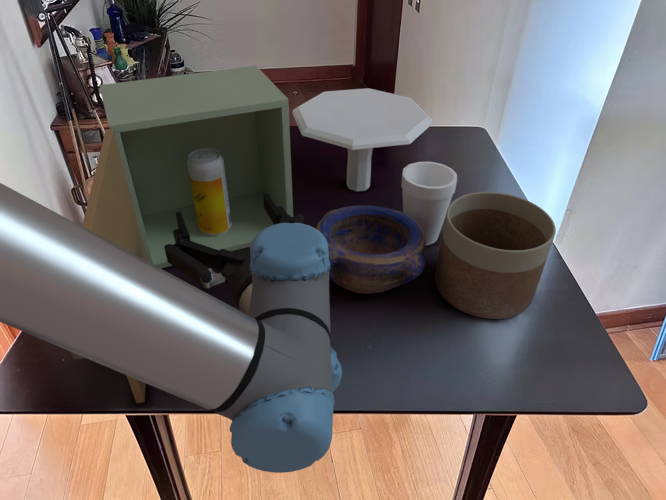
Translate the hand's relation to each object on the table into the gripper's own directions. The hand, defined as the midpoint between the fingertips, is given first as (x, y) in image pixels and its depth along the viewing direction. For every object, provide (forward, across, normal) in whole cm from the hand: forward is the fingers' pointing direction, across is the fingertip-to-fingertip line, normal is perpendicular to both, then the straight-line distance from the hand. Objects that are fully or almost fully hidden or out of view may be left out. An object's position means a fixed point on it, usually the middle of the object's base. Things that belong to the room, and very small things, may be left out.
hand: (223, 209), depth 80 cm
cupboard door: (-7, -18, -13) cm, 23 cm away
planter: (-20, +37, -13) cm, 44 cm away
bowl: (-9, +21, -13) cm, 26 cm away
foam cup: (-3, +35, -13) cm, 38 cm away
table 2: (+18, +33, -13) cm, 39 cm away
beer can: (+12, 0, -12) cm, 17 cm away
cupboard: (+14, 0, -13) cm, 19 cm away
